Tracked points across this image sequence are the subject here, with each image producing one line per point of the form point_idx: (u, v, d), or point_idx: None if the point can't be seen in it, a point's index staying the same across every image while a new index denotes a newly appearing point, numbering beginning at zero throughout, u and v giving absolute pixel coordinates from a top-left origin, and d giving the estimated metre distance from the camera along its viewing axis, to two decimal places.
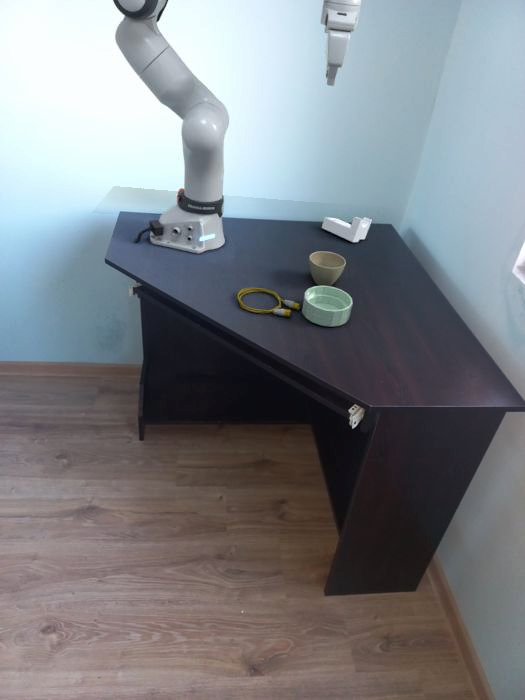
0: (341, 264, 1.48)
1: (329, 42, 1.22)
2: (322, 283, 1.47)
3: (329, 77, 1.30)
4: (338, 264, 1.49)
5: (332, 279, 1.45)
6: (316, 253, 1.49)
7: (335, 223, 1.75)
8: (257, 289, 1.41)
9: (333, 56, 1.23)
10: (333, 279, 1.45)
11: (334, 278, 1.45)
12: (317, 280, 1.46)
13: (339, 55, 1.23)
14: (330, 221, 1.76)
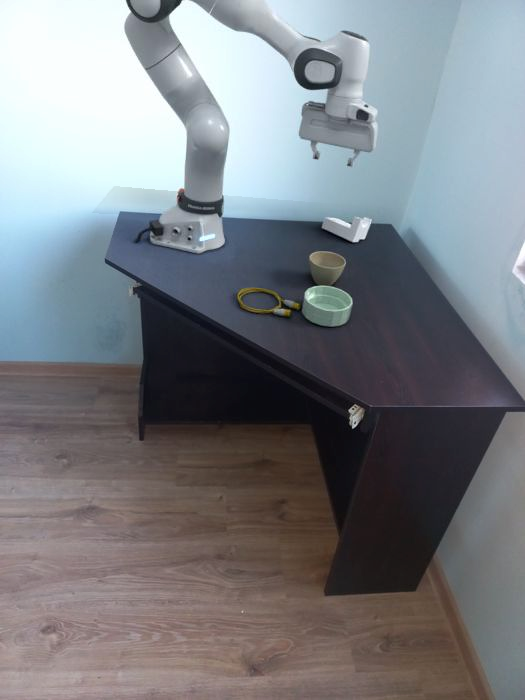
0: (341, 264, 1.48)
1: (374, 133, 1.33)
2: (322, 283, 1.47)
3: (354, 160, 1.40)
4: (338, 264, 1.49)
5: (332, 279, 1.45)
6: (316, 253, 1.49)
7: (335, 223, 1.75)
8: (257, 289, 1.41)
9: (375, 143, 1.36)
10: (333, 279, 1.45)
11: (334, 278, 1.45)
12: (317, 280, 1.46)
13: (376, 141, 1.36)
14: (330, 221, 1.76)
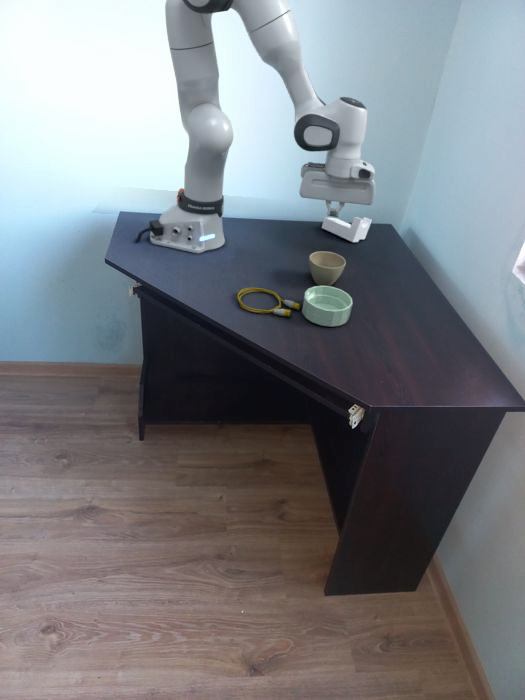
0: (341, 264, 1.48)
1: (374, 188, 1.41)
2: (322, 283, 1.47)
3: None
4: (338, 264, 1.49)
5: (332, 279, 1.45)
6: (316, 253, 1.49)
7: (335, 223, 1.75)
8: (257, 289, 1.41)
9: None
10: (333, 279, 1.45)
11: (334, 278, 1.45)
12: (317, 280, 1.46)
13: None
14: (330, 221, 1.76)
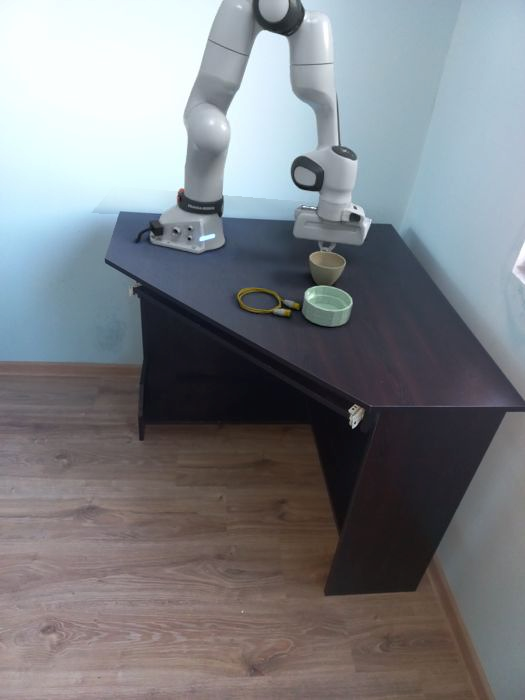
0: (341, 264, 1.48)
1: (364, 230, 1.49)
2: (322, 283, 1.47)
3: None
4: (338, 264, 1.49)
5: (332, 279, 1.45)
6: (316, 253, 1.49)
7: None
8: (257, 289, 1.41)
9: None
10: (333, 279, 1.45)
11: (334, 278, 1.45)
12: (317, 280, 1.46)
13: None
14: None
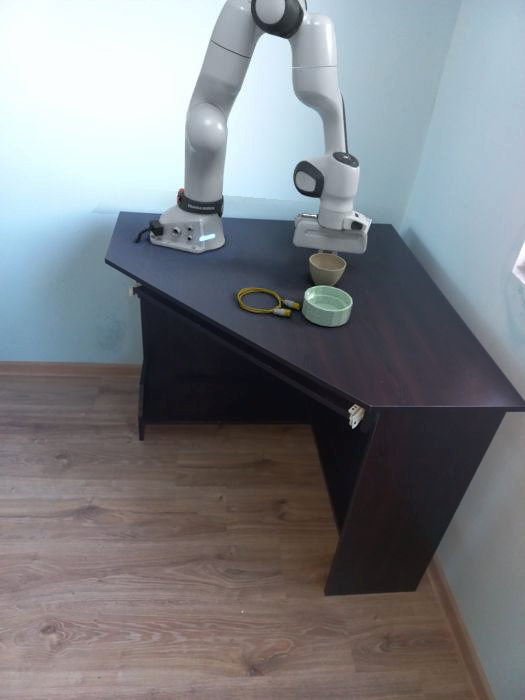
0: (341, 266, 1.47)
1: (366, 239, 1.44)
2: (323, 285, 1.46)
3: None
4: (338, 266, 1.48)
5: (333, 281, 1.44)
6: (316, 255, 1.48)
7: None
8: (257, 289, 1.41)
9: None
10: (334, 281, 1.44)
11: (335, 280, 1.44)
12: (318, 283, 1.45)
13: None
14: None
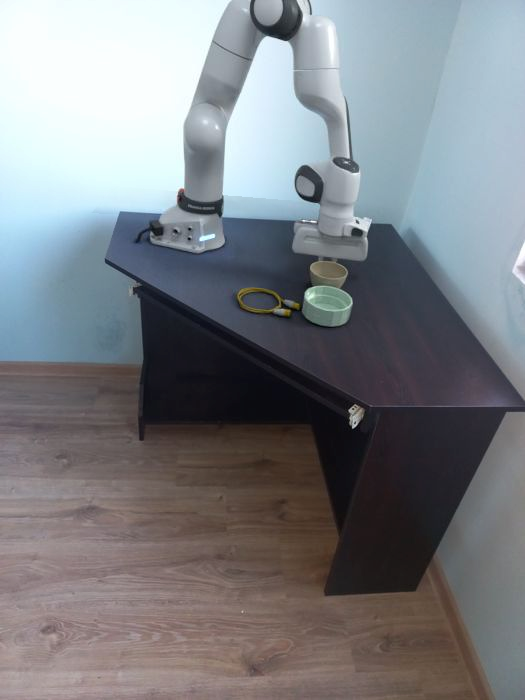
0: (342, 274, 1.43)
1: (367, 246, 1.41)
2: None
3: None
4: (339, 274, 1.44)
5: None
6: (316, 263, 1.44)
7: None
8: (257, 289, 1.41)
9: None
10: None
11: None
12: None
13: None
14: None
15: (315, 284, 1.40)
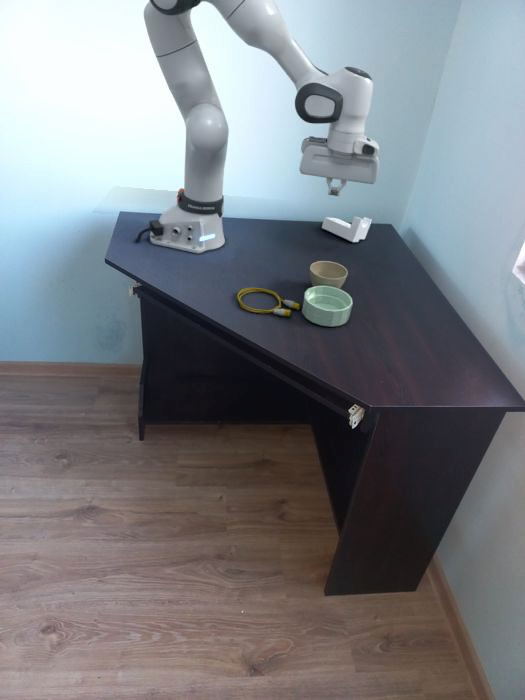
0: (342, 274, 1.43)
1: (378, 166, 1.35)
2: None
3: None
4: (339, 274, 1.44)
5: None
6: (316, 263, 1.44)
7: (335, 223, 1.75)
8: (257, 289, 1.41)
9: None
10: None
11: None
12: None
13: None
14: (330, 221, 1.76)
15: (315, 284, 1.40)
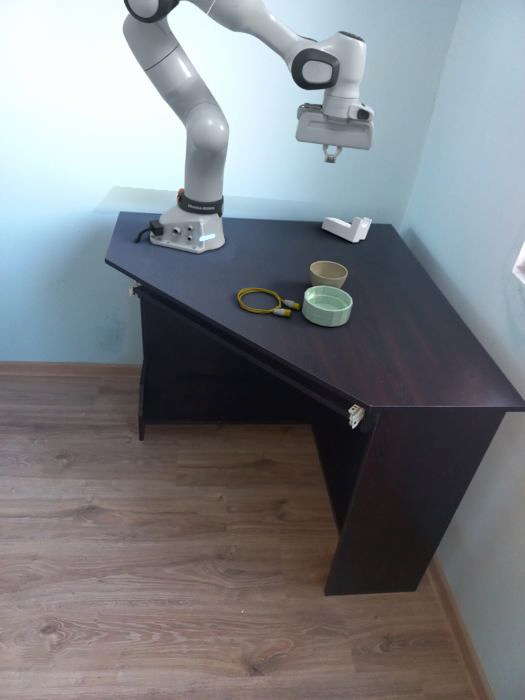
0: (342, 274, 1.43)
1: (373, 131, 1.36)
2: None
3: (336, 156, 1.42)
4: (339, 274, 1.44)
5: None
6: (316, 263, 1.44)
7: (335, 223, 1.75)
8: (257, 289, 1.41)
9: None
10: None
11: None
12: None
13: None
14: (330, 221, 1.76)
15: (315, 284, 1.40)
